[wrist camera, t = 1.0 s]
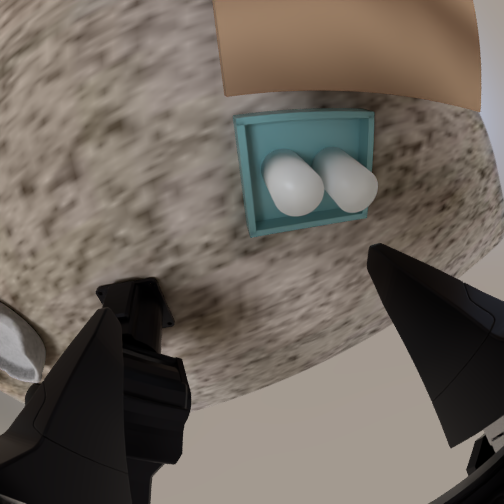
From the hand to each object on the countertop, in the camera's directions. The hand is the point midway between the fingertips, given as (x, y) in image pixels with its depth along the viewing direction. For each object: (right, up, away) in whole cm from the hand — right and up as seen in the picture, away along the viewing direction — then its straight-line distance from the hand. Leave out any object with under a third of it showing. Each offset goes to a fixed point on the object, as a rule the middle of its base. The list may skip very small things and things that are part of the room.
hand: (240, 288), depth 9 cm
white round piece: (+6, +8, +11) cm, 15 cm away
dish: (-34, -10, +16) cm, 39 cm away
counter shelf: (+3, +16, +5) cm, 17 cm away
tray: (+4, +8, +12) cm, 15 cm away
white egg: (+3, +7, +11) cm, 13 cm away
